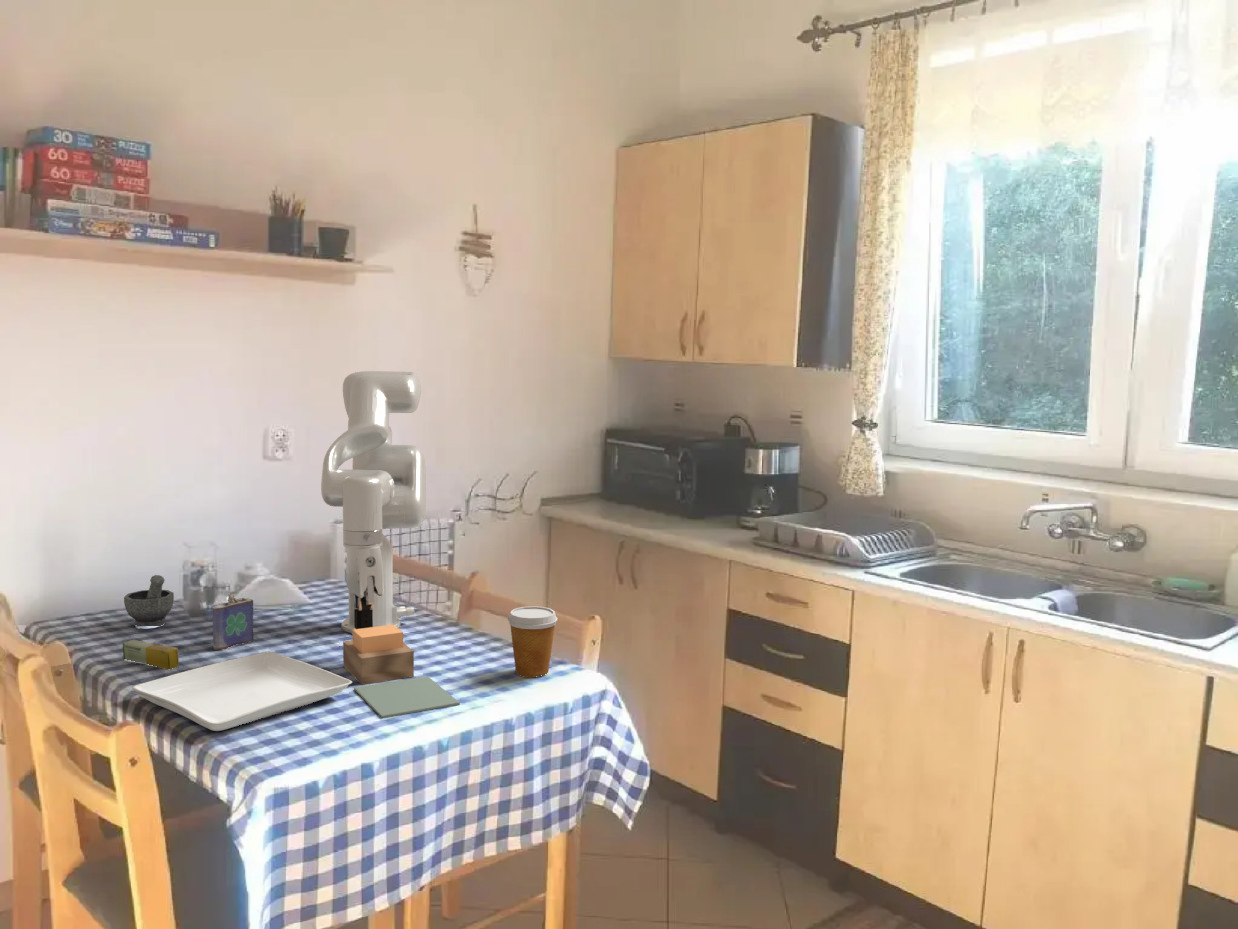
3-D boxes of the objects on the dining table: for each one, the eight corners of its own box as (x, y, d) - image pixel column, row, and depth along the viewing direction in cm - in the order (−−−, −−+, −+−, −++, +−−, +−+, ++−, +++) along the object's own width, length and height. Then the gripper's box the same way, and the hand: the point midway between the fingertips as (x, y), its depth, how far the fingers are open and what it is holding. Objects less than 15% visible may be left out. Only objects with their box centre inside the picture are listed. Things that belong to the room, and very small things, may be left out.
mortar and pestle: (119, 624, 226) (117, 571, 225) (162, 617, 233) (161, 564, 231) (139, 635, 218) (137, 580, 217) (183, 627, 225) (181, 573, 224)
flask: (217, 651, 209) (216, 599, 208) (209, 649, 211) (207, 597, 209) (256, 641, 217) (255, 591, 215) (247, 638, 218) (246, 589, 217)
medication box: (122, 662, 202) (121, 642, 201) (133, 658, 204) (132, 638, 204) (169, 671, 197) (168, 651, 197) (180, 667, 200) (179, 647, 199)
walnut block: (393, 659, 206) (393, 634, 206) (413, 676, 196) (413, 651, 196) (343, 666, 201) (343, 641, 201) (361, 684, 191) (361, 658, 190)
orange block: (393, 639, 203) (393, 624, 202) (403, 647, 198) (403, 632, 197) (352, 644, 199) (352, 629, 198) (362, 653, 194) (361, 637, 193)
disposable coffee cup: (563, 667, 203) (564, 608, 202) (546, 683, 194) (547, 620, 193) (517, 662, 206) (518, 604, 204) (499, 677, 197) (500, 616, 195)
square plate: (268, 667, 201) (268, 648, 200) (355, 700, 184) (355, 679, 183) (130, 704, 180) (129, 682, 180) (213, 745, 163) (212, 721, 162)
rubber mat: (427, 678, 195) (427, 676, 195) (459, 704, 182) (459, 702, 182) (354, 689, 188) (354, 687, 188) (382, 718, 175) (382, 716, 175)
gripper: (393, 542, 199) (394, 635, 201) (369, 530, 212) (370, 618, 214) (355, 545, 195) (356, 640, 197) (333, 533, 208) (334, 622, 210)
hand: (363, 628), depth 205 cm, fingers closed
